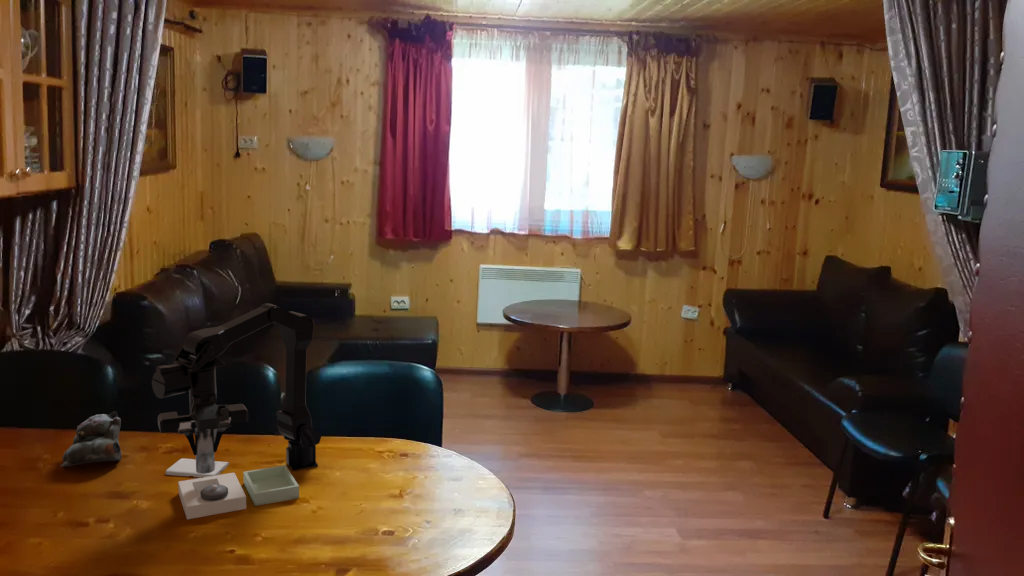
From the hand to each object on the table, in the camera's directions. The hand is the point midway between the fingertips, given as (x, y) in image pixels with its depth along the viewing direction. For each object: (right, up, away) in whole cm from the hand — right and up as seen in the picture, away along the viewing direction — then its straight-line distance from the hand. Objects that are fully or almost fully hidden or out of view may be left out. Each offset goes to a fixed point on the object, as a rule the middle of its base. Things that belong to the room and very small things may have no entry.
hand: (204, 453), depth 185 cm
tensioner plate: (+1, -11, 0) cm, 11 cm away
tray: (+13, -10, +7) cm, 18 cm away
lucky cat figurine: (-35, -6, +19) cm, 40 cm away
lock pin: (0, -4, +1) cm, 4 cm away
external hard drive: (-8, -8, +17) cm, 20 cm away
